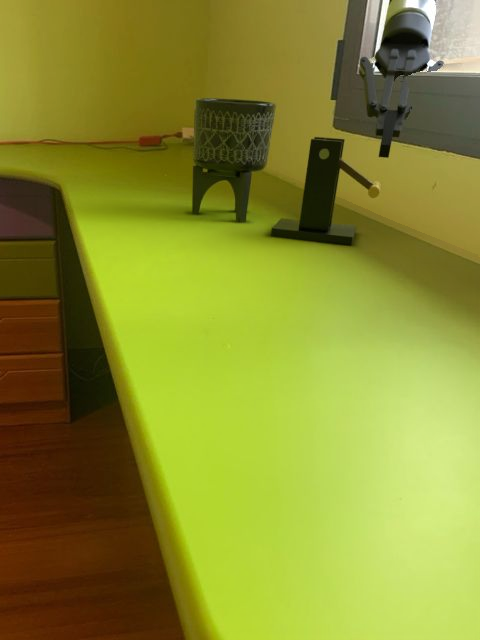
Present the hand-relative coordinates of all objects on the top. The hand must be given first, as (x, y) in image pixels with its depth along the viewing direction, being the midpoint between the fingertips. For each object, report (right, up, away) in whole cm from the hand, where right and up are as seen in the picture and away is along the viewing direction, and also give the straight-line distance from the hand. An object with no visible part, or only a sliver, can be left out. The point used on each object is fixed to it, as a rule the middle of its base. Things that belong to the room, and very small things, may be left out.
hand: (384, 151), depth 104 cm
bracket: (-10, -12, +3) cm, 16 cm away
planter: (-23, -6, +14) cm, 27 cm away
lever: (-7, -5, -2) cm, 8 cm away
